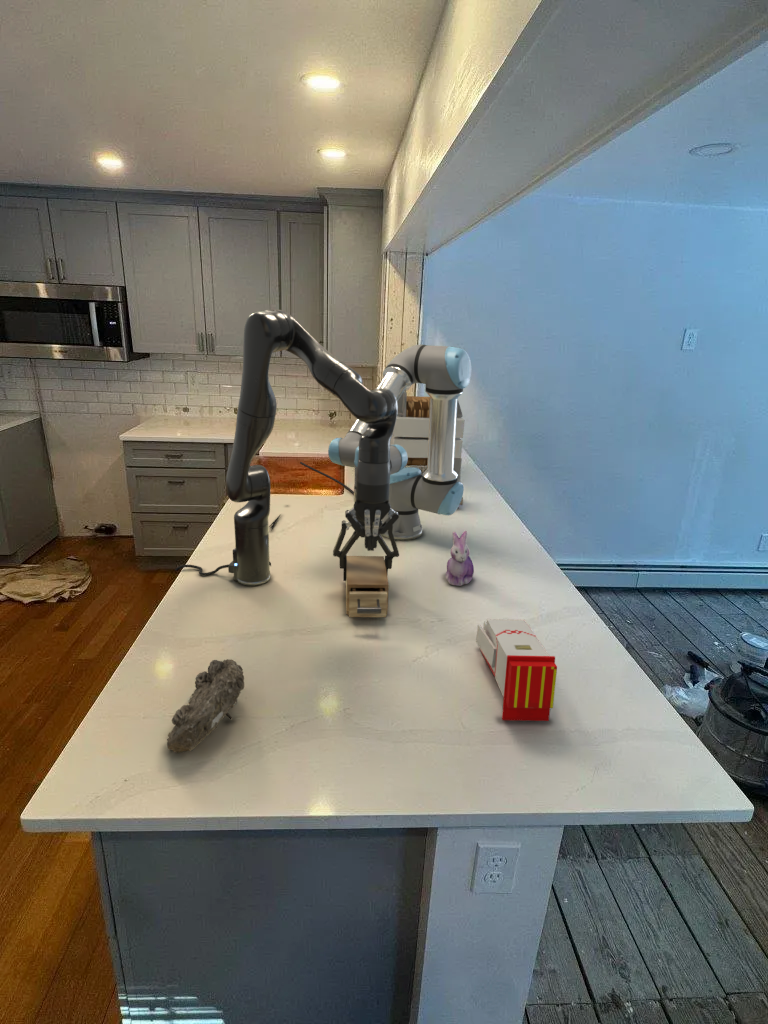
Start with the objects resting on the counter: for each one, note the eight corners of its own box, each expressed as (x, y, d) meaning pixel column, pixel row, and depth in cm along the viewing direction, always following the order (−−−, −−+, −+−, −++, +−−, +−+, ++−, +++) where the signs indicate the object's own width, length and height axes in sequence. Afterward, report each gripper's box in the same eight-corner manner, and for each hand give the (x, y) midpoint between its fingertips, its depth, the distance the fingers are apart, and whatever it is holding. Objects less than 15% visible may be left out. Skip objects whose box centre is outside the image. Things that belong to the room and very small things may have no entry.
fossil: (192, 660, 117) (244, 628, 112) (224, 691, 120) (276, 661, 115) (142, 746, 98) (202, 712, 93) (182, 779, 101) (242, 748, 96)
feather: (288, 508, 223) (290, 504, 222) (270, 532, 196) (273, 528, 196) (284, 506, 223) (286, 502, 222) (266, 530, 196) (268, 525, 195)
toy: (523, 604, 135) (566, 662, 106) (518, 656, 138) (559, 727, 109) (472, 603, 135) (501, 661, 105) (468, 655, 138) (496, 726, 108)
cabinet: (387, 614, 147) (388, 584, 144) (346, 614, 146) (347, 584, 143) (382, 583, 163) (383, 556, 160) (345, 583, 162) (346, 555, 159)
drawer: (387, 629, 138) (389, 605, 136) (349, 629, 138) (349, 605, 135) (381, 587, 159) (382, 565, 157) (348, 587, 158) (348, 565, 156)
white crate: (382, 463, 289) (386, 382, 275) (445, 464, 293) (451, 384, 279) (390, 482, 257) (394, 392, 243) (460, 483, 261) (468, 394, 247)
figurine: (455, 589, 161) (460, 541, 156) (436, 574, 170) (440, 528, 165) (482, 583, 166) (487, 536, 160) (462, 569, 174) (466, 524, 169)
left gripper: (344, 483, 124) (342, 555, 130) (404, 484, 125) (399, 556, 131) (343, 473, 131) (342, 542, 137) (400, 475, 132) (396, 543, 138)
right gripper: (323, 507, 145) (323, 584, 153) (412, 509, 147) (408, 585, 155) (324, 498, 152) (323, 572, 160) (409, 499, 154) (405, 573, 162)
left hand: (370, 549), depth 134 cm, fingers closed
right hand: (365, 578), depth 157 cm, fingers closed on cabinet, 11 cm apart
